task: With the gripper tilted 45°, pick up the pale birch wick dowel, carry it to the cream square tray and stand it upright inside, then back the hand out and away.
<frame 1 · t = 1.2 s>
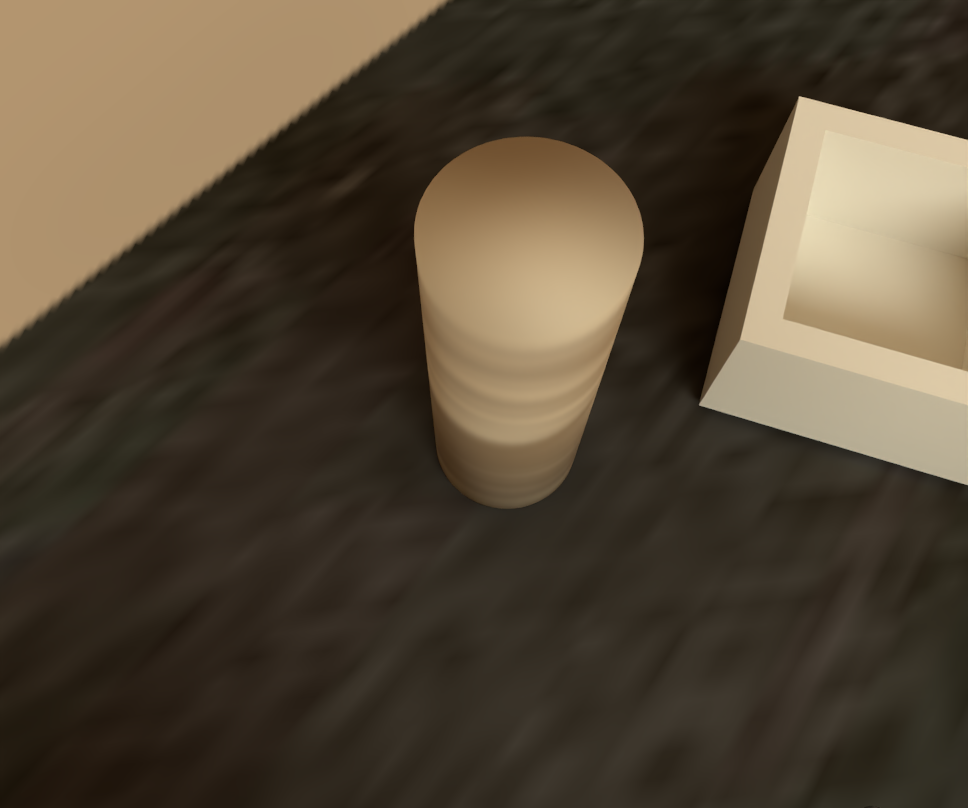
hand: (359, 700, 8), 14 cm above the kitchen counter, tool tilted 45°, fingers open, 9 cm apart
cream square tray: (853, 328, 25), on the kitchen counter
wick dowel: (505, 440, 24), on the kitchen counter
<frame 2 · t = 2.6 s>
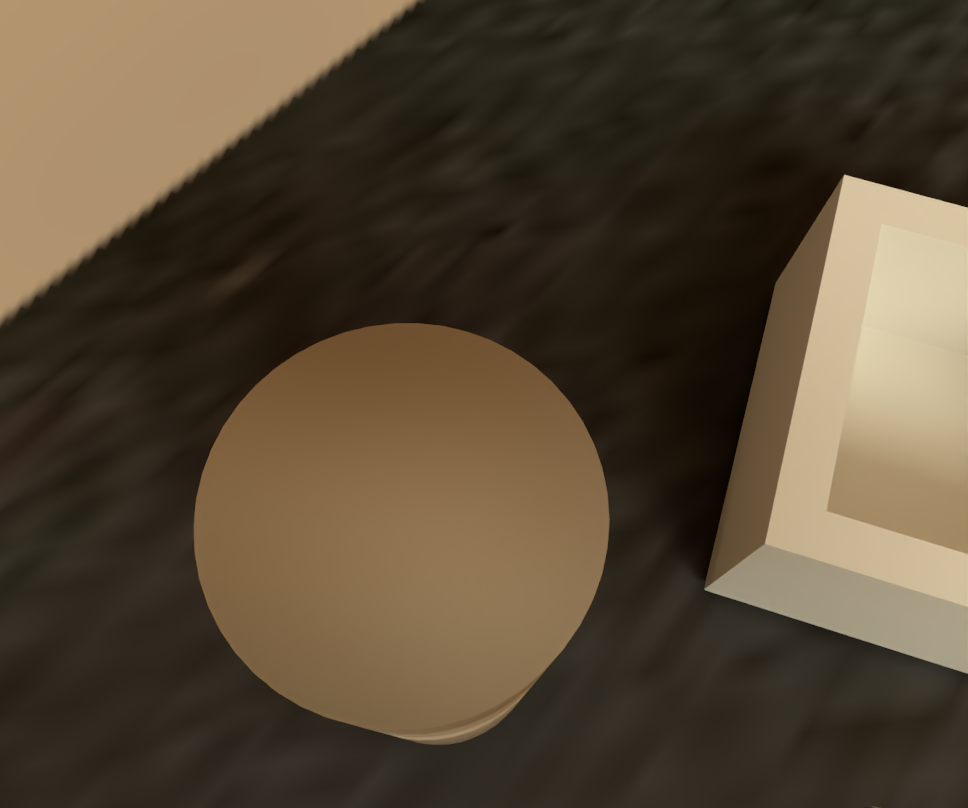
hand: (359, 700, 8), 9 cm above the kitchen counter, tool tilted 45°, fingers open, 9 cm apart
cream square tray: (912, 477, 19), on the kitchen counter
wick dowel: (439, 642, 17), on the kitchen counter
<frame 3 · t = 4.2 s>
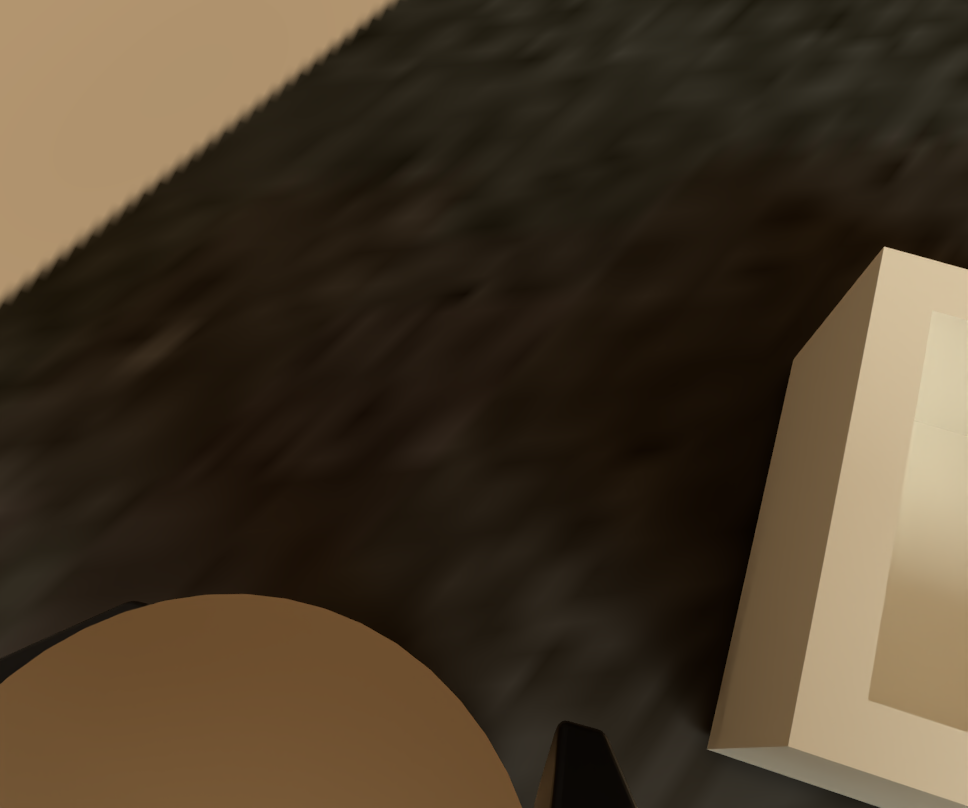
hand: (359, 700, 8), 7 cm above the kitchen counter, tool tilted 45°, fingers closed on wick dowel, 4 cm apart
cream square tray: (960, 604, 15), on the kitchen counter
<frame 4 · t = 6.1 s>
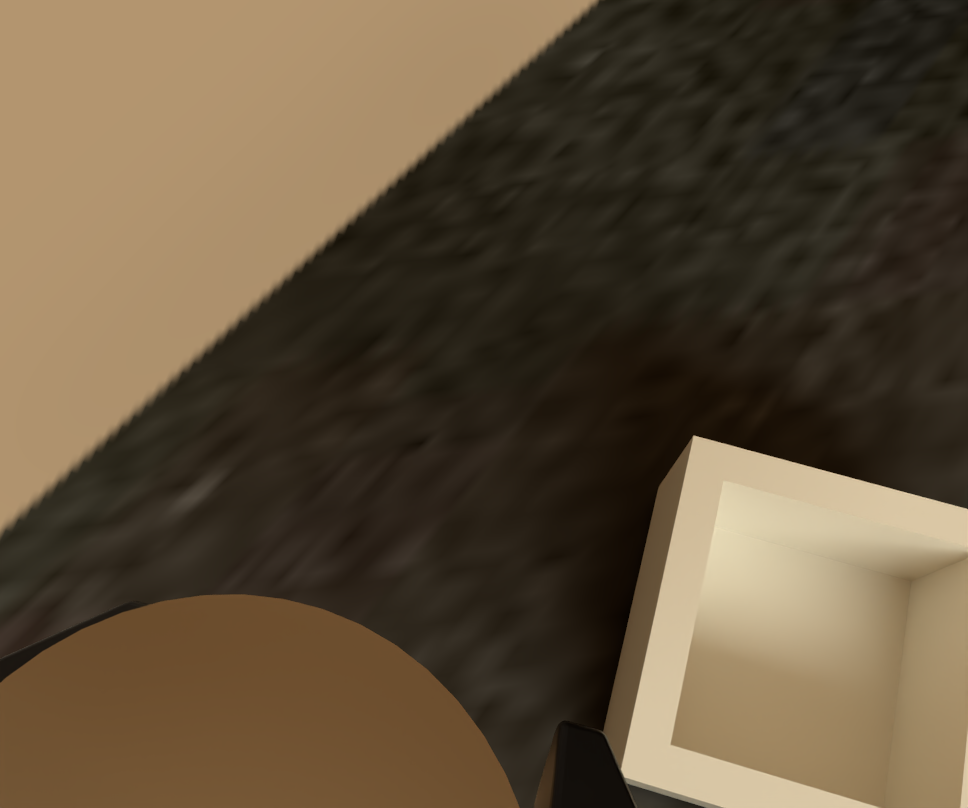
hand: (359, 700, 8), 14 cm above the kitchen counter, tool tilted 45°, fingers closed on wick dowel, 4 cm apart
cream square tray: (772, 664, 22), on the kitchen counter
when the fingers open (9 cm above the kitchen counter, at t = 8.2 s): wick dowel drops 2 cm, resting on cream square tray.
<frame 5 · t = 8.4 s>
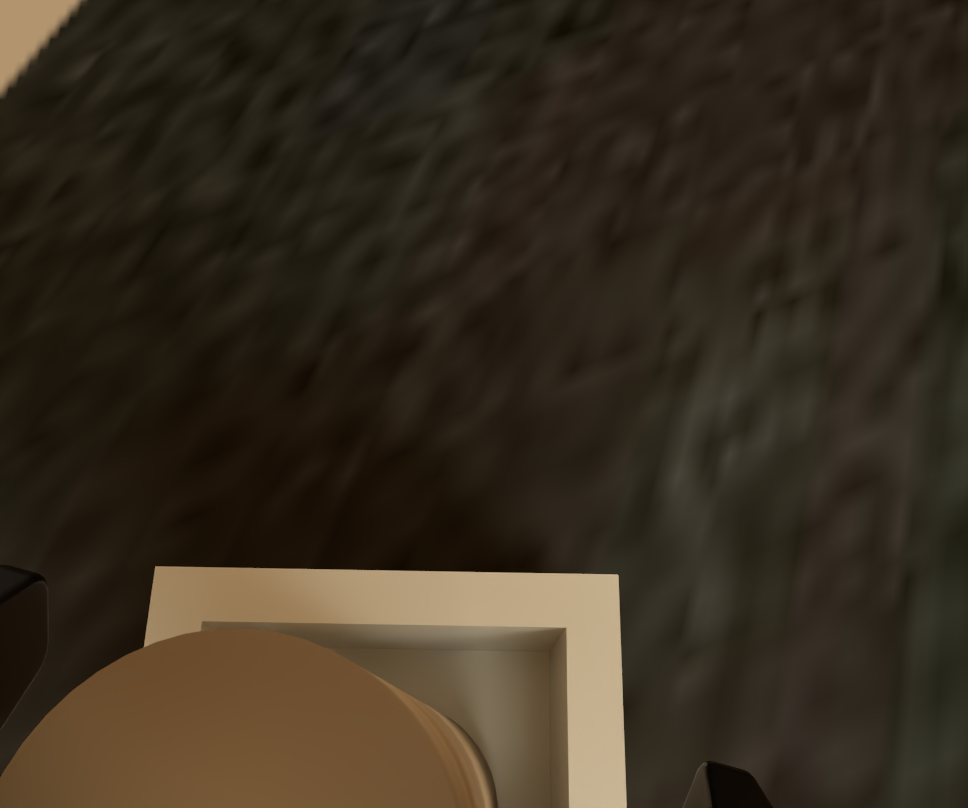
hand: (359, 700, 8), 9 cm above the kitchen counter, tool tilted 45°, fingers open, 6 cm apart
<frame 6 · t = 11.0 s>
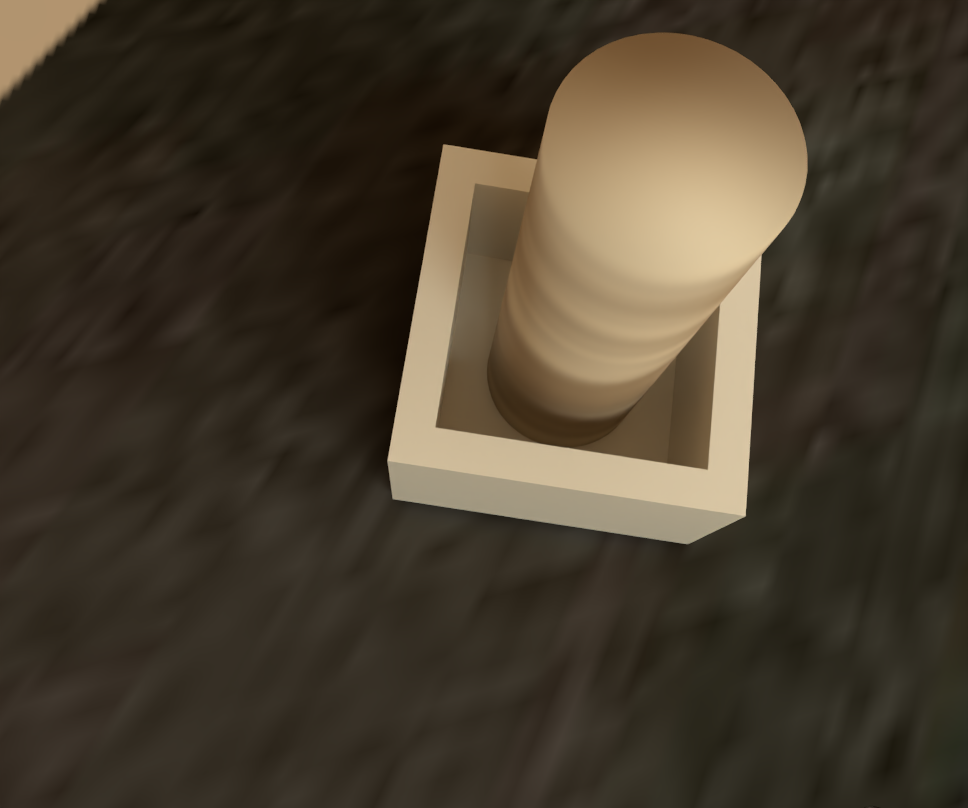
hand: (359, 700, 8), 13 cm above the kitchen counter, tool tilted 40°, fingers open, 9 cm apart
cream square tray: (558, 381, 23), on the kitchen counter
wick dowel: (562, 374, 22), point 1 cm above the kitchen counter, touching cream square tray
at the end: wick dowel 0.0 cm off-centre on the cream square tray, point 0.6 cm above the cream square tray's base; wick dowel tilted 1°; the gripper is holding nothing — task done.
